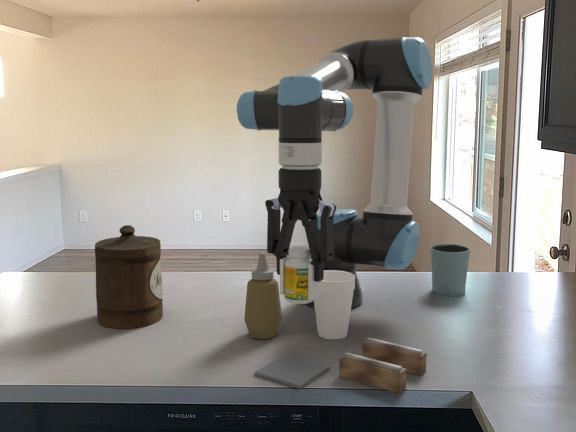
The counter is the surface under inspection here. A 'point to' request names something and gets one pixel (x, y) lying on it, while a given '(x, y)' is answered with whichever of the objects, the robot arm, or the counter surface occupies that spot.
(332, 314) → the foam cup
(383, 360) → the wooden blocks
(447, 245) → the green cup
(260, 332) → the squeeze bottle
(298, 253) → the supplement bottle
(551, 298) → the counter surface
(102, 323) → the wooden container
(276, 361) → the mat
